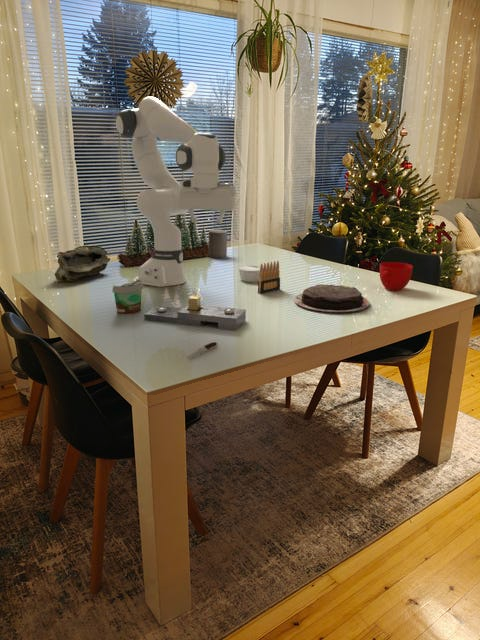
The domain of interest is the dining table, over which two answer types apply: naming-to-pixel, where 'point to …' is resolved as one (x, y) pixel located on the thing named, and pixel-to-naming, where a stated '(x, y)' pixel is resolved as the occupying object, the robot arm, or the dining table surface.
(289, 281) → the dining table surface
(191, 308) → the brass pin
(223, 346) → the dining table surface
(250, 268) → the ramekin
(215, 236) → the pillar candle
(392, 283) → the ceramic cup
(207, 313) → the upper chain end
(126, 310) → the food container
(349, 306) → the chocolate cake
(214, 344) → the pocket knife
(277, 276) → the ammunition clip
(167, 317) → the lower chain end
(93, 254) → the hollow geode rock
